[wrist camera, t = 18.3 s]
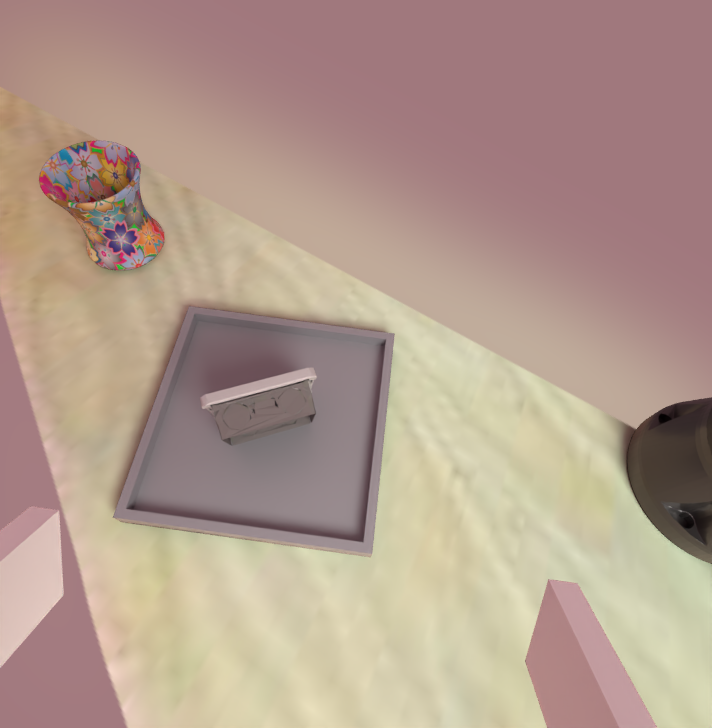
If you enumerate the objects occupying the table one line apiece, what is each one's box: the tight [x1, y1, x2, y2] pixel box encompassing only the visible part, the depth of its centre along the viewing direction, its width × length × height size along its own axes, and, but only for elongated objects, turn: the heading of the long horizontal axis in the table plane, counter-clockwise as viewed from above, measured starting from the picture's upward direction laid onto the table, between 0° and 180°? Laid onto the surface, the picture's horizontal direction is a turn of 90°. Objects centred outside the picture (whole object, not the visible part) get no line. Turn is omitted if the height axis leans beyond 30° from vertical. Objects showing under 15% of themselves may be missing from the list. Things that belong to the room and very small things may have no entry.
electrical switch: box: [200, 368, 317, 446], centre depth 42 cm, size 9×5×9 cm, turn 108°
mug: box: [39, 141, 164, 270], centre depth 52 cm, size 12×9×11 cm
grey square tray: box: [113, 306, 394, 557], centre depth 46 cm, size 22×22×2 cm
